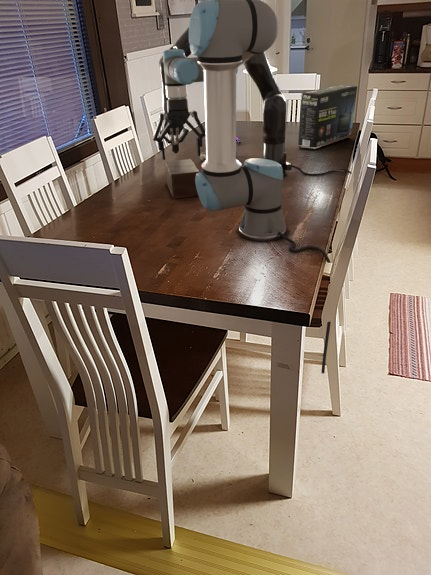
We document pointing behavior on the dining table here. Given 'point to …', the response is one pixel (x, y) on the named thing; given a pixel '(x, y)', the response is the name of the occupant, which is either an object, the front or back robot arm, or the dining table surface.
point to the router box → (326, 115)
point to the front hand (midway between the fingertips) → (181, 157)
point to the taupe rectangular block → (181, 178)
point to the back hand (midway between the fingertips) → (175, 152)
